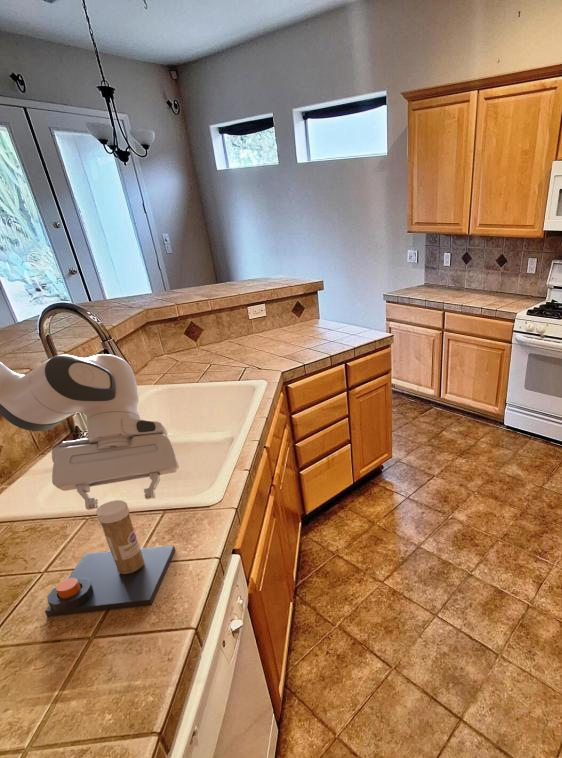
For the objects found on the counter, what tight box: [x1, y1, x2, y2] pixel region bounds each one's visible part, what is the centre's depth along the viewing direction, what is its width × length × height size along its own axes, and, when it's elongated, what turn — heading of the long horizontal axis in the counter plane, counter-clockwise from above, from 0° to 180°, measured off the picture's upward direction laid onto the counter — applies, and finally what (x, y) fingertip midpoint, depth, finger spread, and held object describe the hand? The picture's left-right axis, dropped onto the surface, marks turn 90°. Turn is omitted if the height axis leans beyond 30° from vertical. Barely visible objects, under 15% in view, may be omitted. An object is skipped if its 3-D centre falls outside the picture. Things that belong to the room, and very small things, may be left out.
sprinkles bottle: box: [95, 499, 145, 574], centre depth 76 cm, size 5×5×14 cm
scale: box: [44, 545, 177, 618], centre depth 77 cm, size 16×14×3 cm
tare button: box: [55, 577, 81, 599], centre depth 72 cm, size 3×3×2 cm
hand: (121, 503), depth 80 cm, fingers open, 8 cm apart
